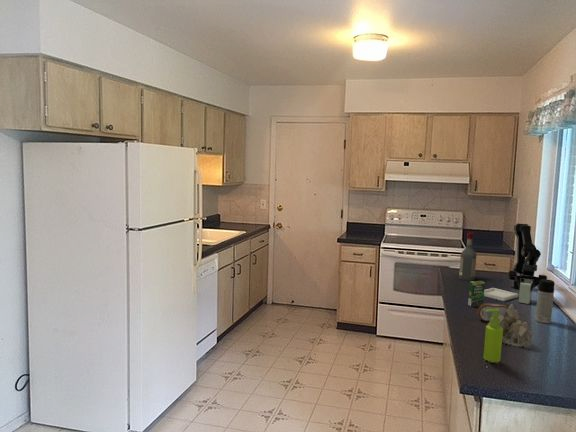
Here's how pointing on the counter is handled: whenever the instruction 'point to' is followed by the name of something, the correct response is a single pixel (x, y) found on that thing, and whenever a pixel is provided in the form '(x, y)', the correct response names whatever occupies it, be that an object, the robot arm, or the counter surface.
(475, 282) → the coffee box
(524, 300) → the block
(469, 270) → the liquor
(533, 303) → the counter surface
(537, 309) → the spray can
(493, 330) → the soap dispenser
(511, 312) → the grey brown jagged piece
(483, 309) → the tin
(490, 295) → the tray
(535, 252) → the robot arm
